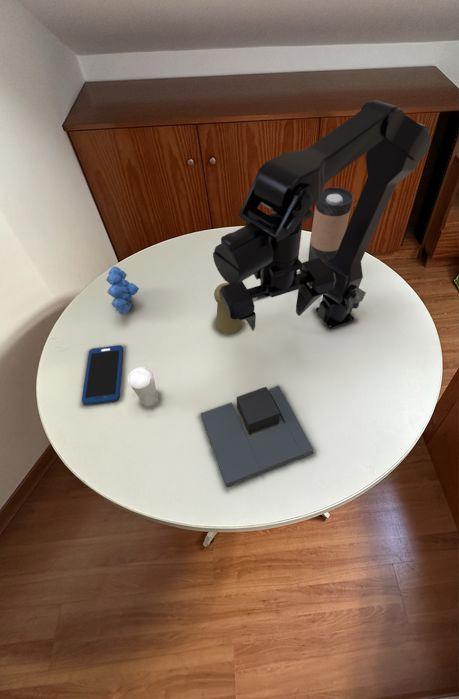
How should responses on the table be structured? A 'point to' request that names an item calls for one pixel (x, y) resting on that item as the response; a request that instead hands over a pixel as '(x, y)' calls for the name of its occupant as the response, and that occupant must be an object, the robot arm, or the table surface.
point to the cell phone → (103, 375)
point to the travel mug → (329, 222)
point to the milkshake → (144, 385)
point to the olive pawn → (225, 316)
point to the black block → (258, 410)
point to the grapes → (121, 290)
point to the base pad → (254, 441)
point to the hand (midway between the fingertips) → (275, 321)
